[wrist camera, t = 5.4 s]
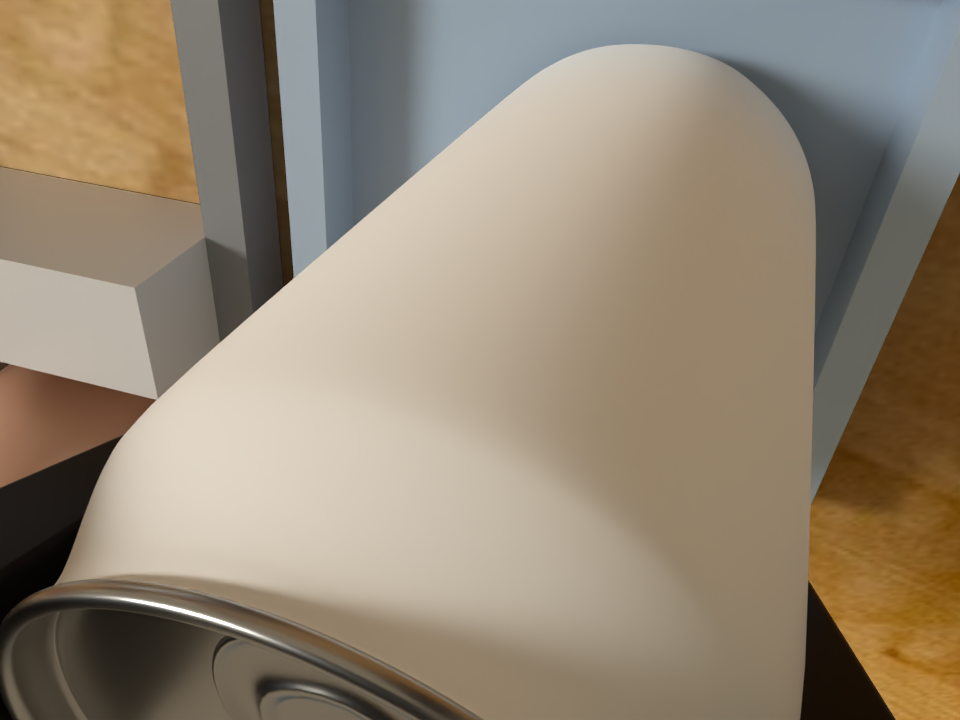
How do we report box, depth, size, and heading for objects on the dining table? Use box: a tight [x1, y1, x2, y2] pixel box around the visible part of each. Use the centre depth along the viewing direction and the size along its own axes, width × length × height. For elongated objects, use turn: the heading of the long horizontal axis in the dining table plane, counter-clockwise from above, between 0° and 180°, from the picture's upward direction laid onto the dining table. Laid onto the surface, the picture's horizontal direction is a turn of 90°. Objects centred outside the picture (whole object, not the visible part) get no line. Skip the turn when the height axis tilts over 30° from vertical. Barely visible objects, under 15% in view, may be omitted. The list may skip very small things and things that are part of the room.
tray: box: [273, 0, 960, 505], centre depth 15 cm, size 12×12×2 cm
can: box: [0, 44, 816, 720], centre depth 10 cm, size 6×6×12 cm
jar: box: [0, 364, 156, 487], centre depth 19 cm, size 5×5×8 cm
